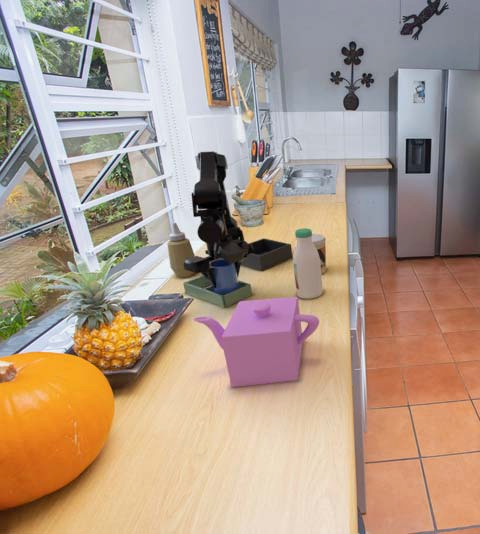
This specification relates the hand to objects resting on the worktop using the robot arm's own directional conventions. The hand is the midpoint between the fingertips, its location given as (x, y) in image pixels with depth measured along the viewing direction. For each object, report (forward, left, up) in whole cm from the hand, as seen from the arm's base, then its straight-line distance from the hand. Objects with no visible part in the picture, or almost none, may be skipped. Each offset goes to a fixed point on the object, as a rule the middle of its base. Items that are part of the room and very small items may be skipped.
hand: (225, 283), depth 113 cm
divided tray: (-4, 0, -4) cm, 6 cm away
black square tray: (-14, +26, -4) cm, 30 cm away
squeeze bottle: (-27, +4, -5) cm, 28 cm away
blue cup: (0, 0, -4) cm, 4 cm away
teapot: (+35, -16, -5) cm, 39 cm away
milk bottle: (+20, +14, -5) cm, 24 cm away
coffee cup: (+9, +28, -5) cm, 30 cm away
